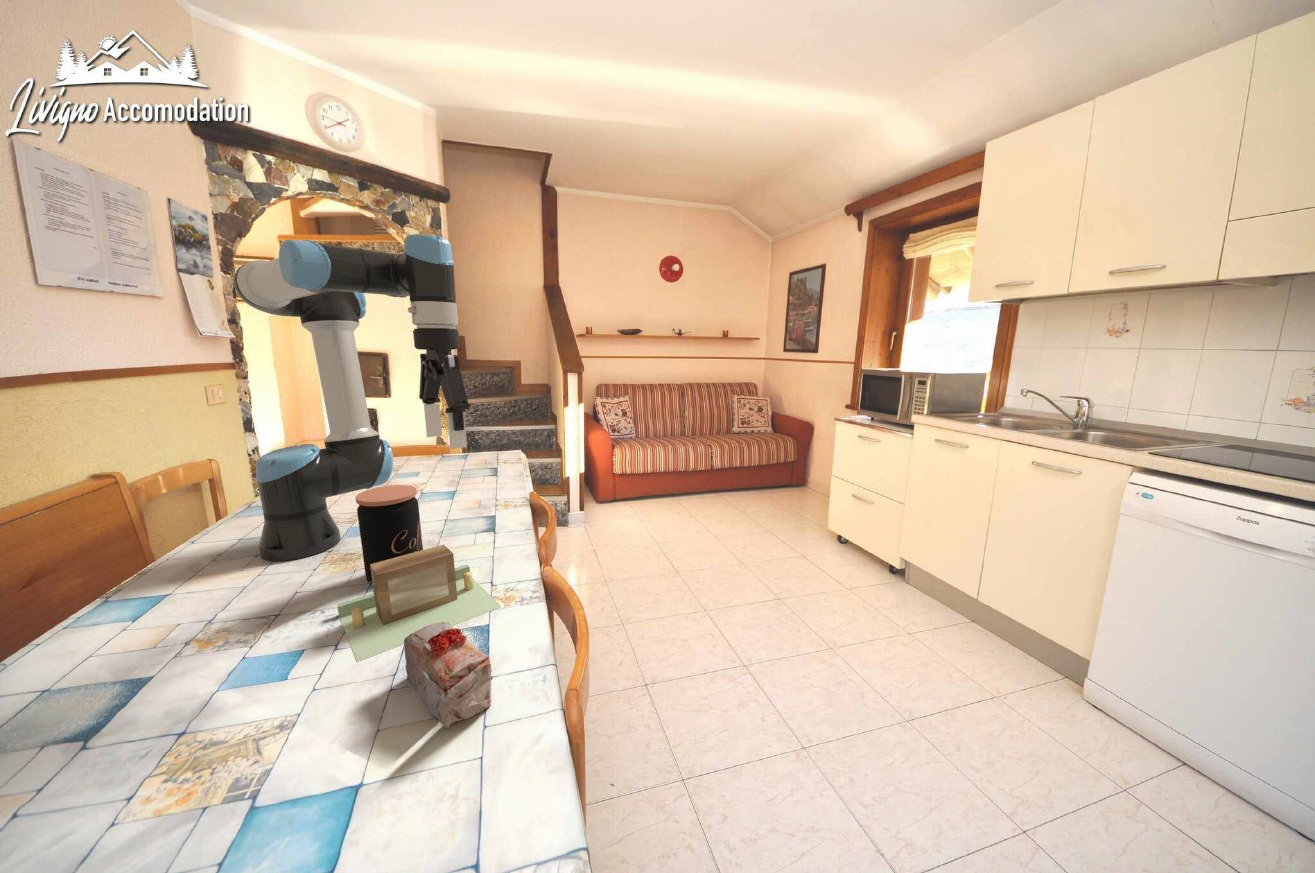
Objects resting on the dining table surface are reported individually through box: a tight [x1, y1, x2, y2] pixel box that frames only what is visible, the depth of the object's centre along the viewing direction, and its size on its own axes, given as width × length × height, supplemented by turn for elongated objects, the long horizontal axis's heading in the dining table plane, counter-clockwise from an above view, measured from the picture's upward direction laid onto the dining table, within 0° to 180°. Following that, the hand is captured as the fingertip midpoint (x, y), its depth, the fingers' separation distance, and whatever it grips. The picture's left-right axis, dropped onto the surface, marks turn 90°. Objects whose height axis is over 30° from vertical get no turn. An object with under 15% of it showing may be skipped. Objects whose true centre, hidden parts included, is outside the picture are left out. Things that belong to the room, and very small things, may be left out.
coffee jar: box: [354, 484, 424, 583], centre depth 95 cm, size 11×11×18 cm
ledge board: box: [336, 564, 502, 663], centre depth 82 cm, size 16×22×4 cm
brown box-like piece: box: [370, 544, 457, 625], centre depth 83 cm, size 5×12×9 cm, turn 132°
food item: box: [403, 622, 494, 730], centre depth 63 cm, size 14×8×10 cm, turn 50°
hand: (446, 441), depth 90 cm, fingers open, 13 cm apart
